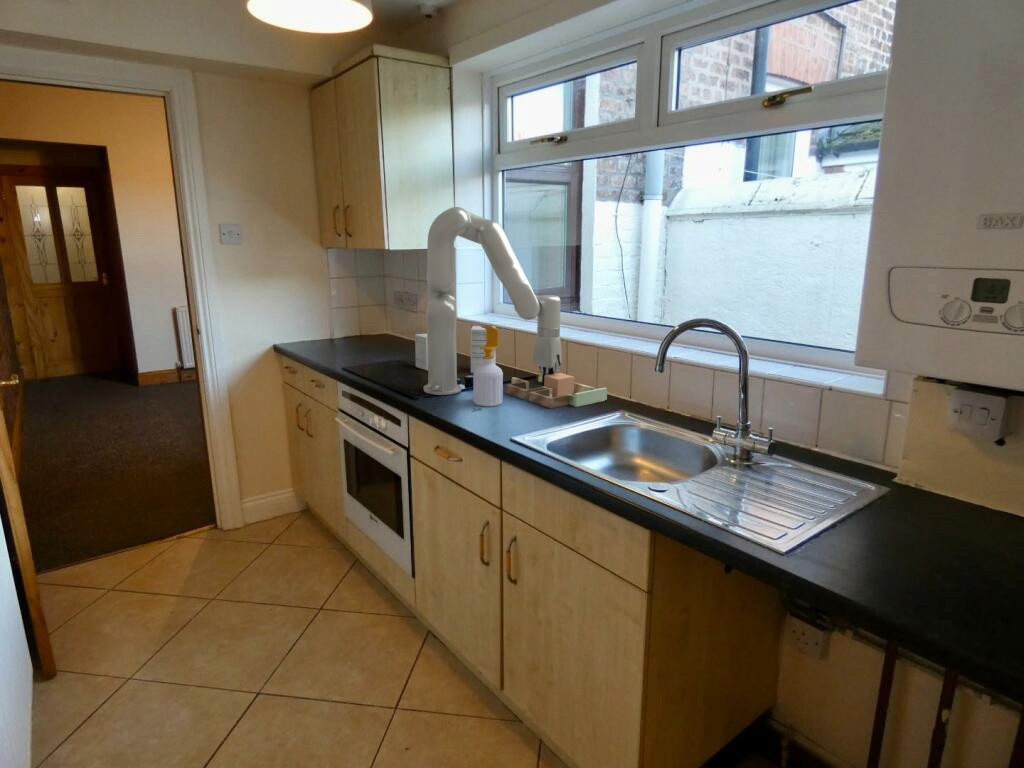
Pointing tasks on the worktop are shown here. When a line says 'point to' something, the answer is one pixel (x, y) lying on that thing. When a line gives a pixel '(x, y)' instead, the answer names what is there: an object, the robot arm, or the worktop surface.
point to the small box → (421, 351)
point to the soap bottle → (488, 374)
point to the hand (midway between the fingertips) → (547, 385)
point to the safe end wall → (590, 397)
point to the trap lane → (543, 393)
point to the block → (559, 384)
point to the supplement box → (479, 341)
